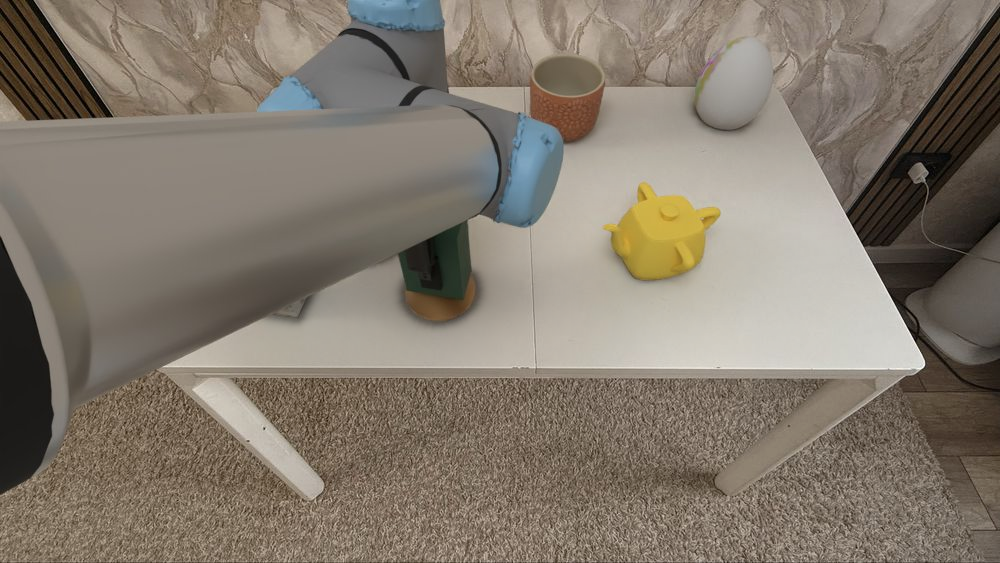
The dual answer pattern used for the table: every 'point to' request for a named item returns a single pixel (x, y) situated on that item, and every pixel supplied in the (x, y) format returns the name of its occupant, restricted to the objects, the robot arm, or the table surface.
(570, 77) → the planter
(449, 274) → the case
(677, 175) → the table surface
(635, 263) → the teapot
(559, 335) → the table surface
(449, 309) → the coaster
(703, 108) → the decorative egg
